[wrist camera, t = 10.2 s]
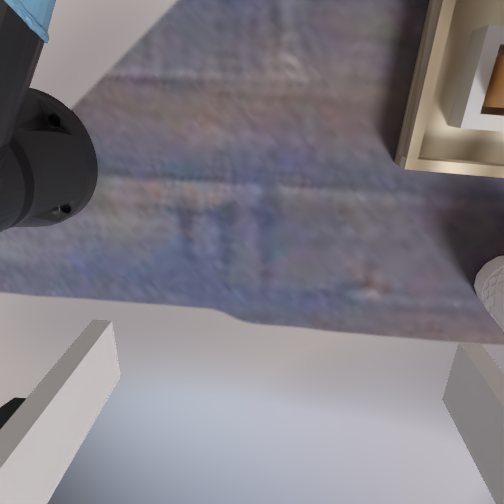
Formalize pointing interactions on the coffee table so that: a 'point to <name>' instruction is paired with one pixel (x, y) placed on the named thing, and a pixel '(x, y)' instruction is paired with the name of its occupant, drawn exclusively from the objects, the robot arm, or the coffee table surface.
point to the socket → (478, 81)
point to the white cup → (492, 288)
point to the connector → (496, 86)
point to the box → (448, 95)
